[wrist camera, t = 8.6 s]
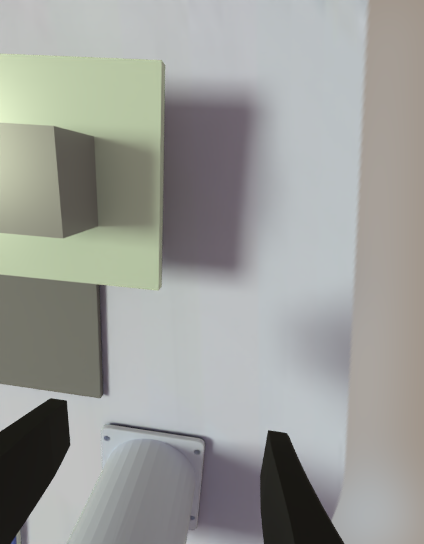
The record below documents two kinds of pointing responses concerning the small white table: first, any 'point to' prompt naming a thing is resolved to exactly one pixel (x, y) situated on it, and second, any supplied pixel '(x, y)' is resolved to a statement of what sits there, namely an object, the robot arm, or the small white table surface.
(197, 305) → the small white table surface
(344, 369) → the small white table surface
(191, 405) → the small white table surface
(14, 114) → the lid
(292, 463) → the robot arm
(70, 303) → the mat
